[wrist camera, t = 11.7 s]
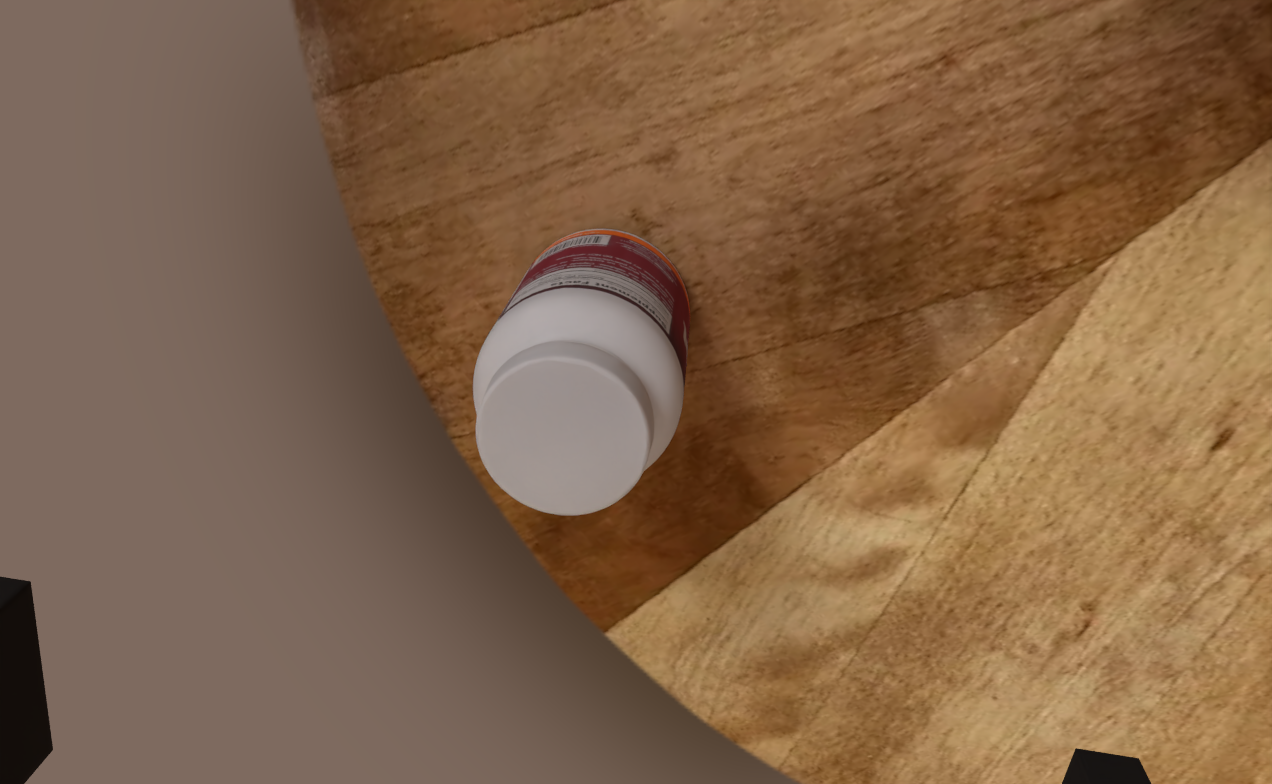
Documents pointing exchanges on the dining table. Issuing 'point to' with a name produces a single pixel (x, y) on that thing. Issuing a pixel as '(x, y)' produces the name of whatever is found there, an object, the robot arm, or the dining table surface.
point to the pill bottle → (583, 373)
